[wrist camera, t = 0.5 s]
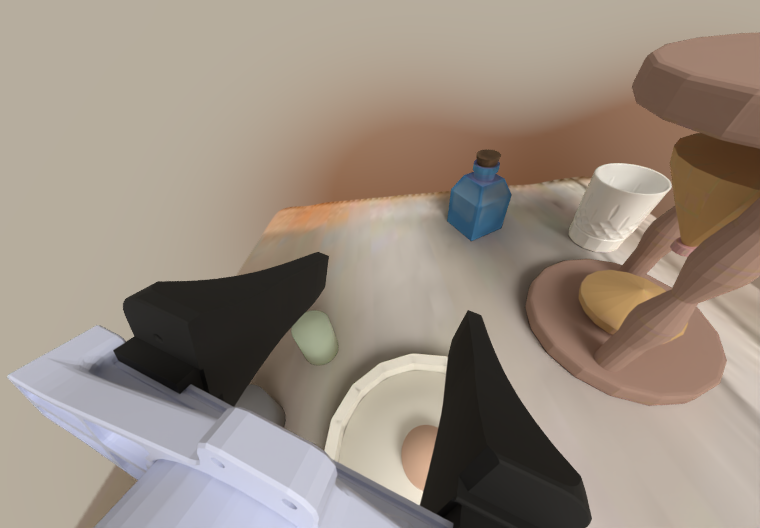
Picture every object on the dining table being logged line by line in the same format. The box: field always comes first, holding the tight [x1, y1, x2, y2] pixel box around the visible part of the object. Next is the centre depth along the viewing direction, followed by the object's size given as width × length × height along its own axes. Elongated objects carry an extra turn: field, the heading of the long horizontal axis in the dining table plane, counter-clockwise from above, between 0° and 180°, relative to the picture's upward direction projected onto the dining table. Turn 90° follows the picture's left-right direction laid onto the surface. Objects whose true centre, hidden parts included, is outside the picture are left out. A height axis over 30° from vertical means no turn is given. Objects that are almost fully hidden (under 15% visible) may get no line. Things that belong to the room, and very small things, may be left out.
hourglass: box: [525, 33, 760, 406], centre depth 22 cm, size 18×18×25 cm
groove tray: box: [324, 353, 448, 505], centre depth 23 cm, size 17×17×2 cm
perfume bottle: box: [447, 150, 511, 241], centre depth 42 cm, size 6×6×12 cm
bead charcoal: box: [234, 385, 285, 428], centre depth 25 cm, size 4×4×5 cm
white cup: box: [569, 163, 672, 253], centre depth 38 cm, size 8×8×10 cm
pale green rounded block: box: [291, 310, 338, 365], centre depth 30 cm, size 4×4×5 cm
